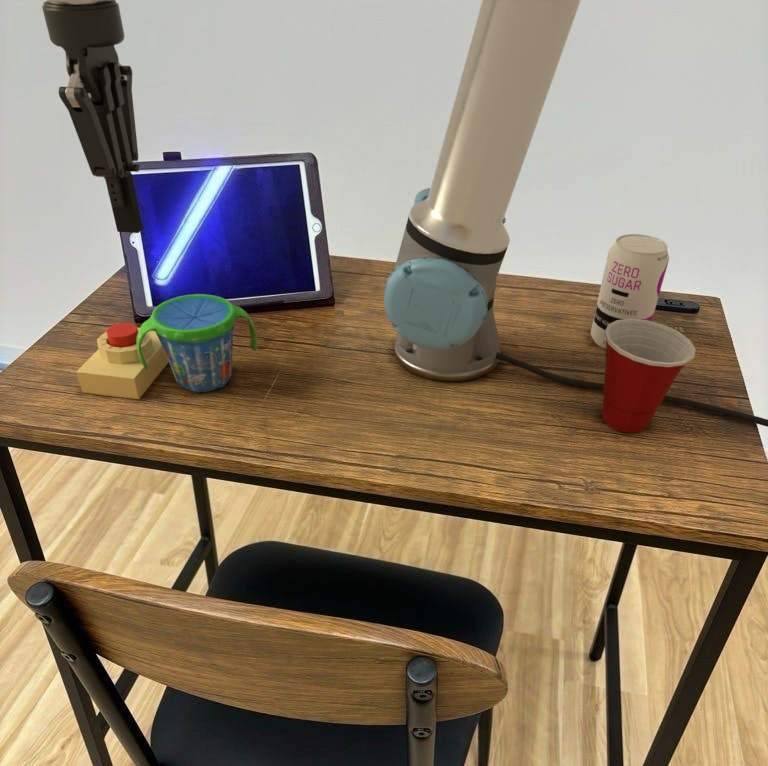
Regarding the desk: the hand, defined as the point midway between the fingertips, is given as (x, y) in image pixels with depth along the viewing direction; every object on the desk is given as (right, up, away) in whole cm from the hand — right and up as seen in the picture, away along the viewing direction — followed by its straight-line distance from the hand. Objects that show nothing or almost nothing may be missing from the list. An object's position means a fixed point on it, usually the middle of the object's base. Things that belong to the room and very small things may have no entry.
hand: (130, 230), depth 91 cm
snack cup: (+7, -17, +10) cm, 21 cm away
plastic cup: (+63, -23, +5) cm, 67 cm away
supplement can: (+67, -9, +22) cm, 71 cm away
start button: (-4, -12, +9) cm, 15 cm away
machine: (-4, -15, +12) cm, 20 cm away
